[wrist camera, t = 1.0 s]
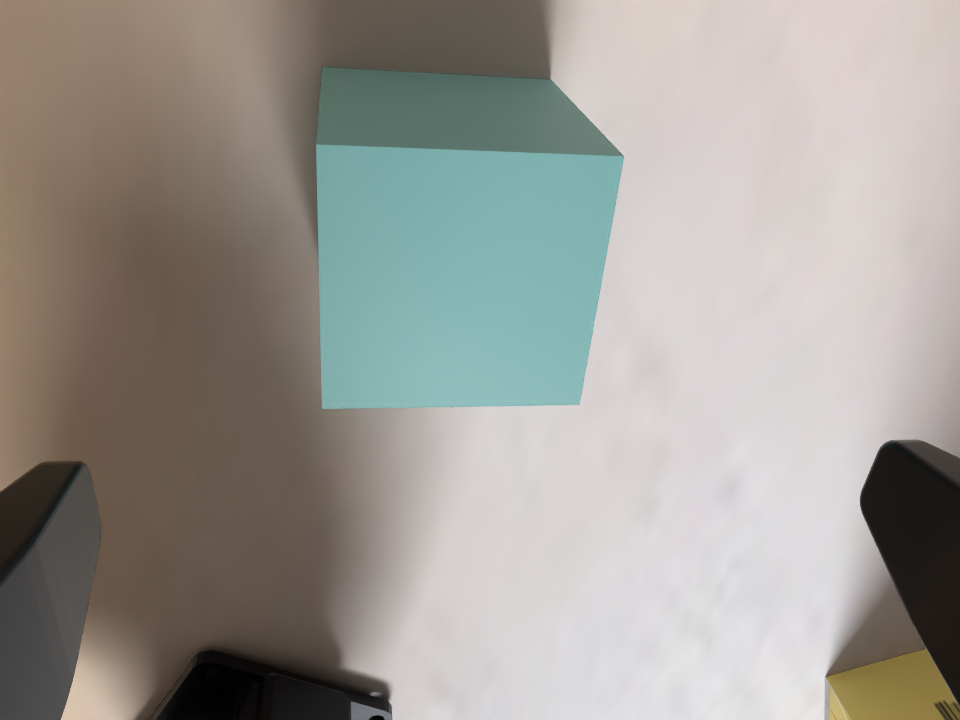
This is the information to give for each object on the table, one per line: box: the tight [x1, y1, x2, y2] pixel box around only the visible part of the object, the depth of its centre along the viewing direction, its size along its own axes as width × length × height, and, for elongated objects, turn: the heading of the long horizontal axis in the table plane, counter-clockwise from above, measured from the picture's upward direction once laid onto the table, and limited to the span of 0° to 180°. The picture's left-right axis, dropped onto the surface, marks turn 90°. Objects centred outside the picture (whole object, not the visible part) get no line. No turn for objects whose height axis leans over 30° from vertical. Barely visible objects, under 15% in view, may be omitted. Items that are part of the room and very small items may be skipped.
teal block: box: [316, 67, 624, 409], centre depth 15 cm, size 4×4×5 cm
